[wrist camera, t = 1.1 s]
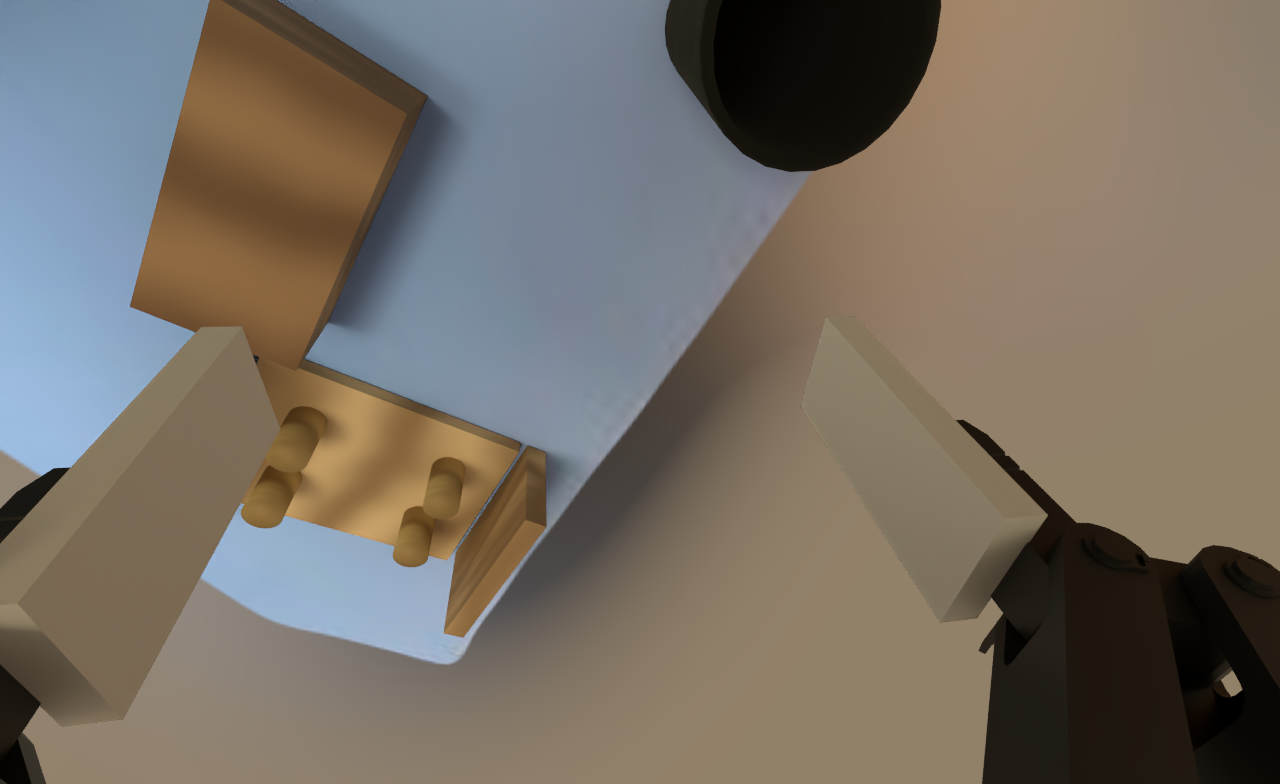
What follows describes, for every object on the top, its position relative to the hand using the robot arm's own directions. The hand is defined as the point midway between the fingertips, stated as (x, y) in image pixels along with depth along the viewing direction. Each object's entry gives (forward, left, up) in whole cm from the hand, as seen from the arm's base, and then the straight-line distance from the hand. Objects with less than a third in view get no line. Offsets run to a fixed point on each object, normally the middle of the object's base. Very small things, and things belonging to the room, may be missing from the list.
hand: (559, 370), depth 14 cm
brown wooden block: (-10, -7, -20) cm, 24 cm away
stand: (-1, -23, -20) cm, 30 cm away
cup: (+4, +10, -20) cm, 23 cm away
